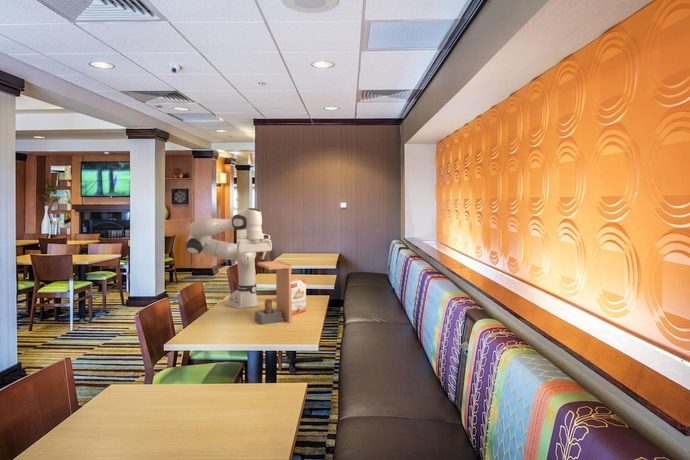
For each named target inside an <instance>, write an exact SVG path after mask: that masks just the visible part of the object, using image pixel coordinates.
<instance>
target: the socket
mask: <svg viewBox="0 0 690 460" xmlns="http://www.w3.org/2000/svg"><path fill="white" fill-rule="evenodd" d="M254 313H255V315H254V319H255V321H256V322H258V323H259V324H261V325H268V324H269V325H270V324H275V323H276V324H277V323H281V322H283V318H282V313H281V312H280V311H278V310H277V308H272V313H267V314H265V309H260V310H255V311H254Z"/></svg>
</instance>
